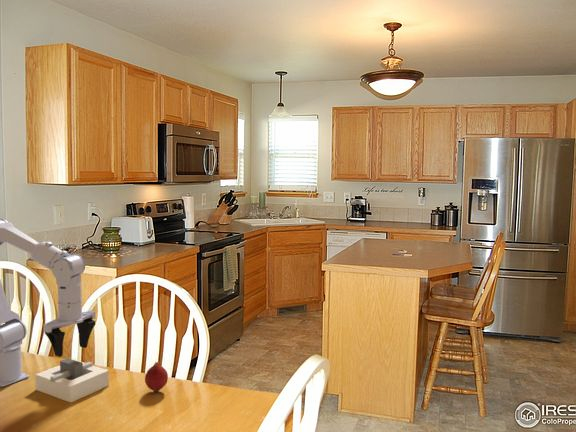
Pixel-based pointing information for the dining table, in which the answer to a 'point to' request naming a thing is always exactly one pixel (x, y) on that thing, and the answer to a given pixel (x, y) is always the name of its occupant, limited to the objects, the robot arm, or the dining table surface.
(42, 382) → the shallow white tray
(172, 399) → the dining table surface
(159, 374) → the onion
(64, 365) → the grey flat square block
